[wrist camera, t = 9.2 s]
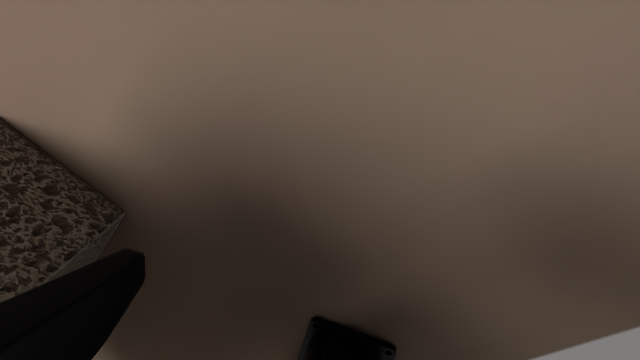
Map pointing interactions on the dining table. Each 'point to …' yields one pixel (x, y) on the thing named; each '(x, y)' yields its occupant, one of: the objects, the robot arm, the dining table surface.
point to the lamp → (46, 217)
